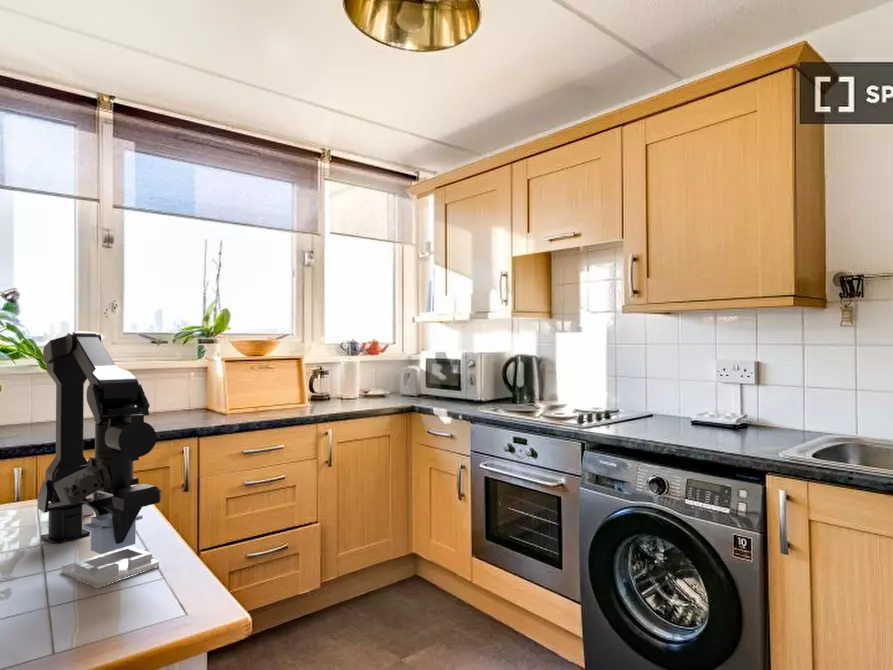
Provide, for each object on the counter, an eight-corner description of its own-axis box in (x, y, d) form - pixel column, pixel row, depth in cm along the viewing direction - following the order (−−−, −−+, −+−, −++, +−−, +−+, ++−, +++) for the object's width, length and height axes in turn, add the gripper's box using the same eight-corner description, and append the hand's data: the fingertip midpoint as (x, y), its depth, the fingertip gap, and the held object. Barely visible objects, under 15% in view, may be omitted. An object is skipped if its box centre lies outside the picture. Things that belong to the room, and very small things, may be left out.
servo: (93, 556, 90) (93, 518, 90) (83, 552, 92) (83, 514, 92) (142, 541, 97) (142, 505, 97) (131, 538, 98) (131, 502, 99)
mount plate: (61, 572, 93) (61, 559, 94) (121, 553, 102) (121, 541, 102) (97, 588, 87) (97, 574, 87) (158, 567, 96) (158, 554, 96)
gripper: (35, 452, 93) (34, 545, 92) (92, 464, 83) (91, 569, 82) (104, 442, 102) (104, 526, 102) (163, 452, 92) (162, 545, 92)
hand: (113, 541), depth 94 cm, fingers closed on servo, 3 cm apart
